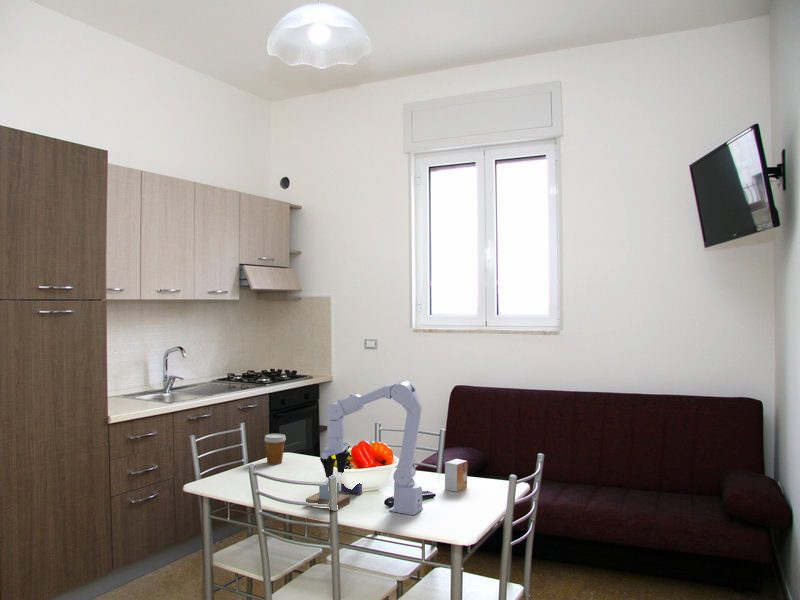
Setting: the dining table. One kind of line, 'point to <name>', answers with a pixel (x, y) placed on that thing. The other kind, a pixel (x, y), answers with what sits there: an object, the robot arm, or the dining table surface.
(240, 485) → the dining table surface
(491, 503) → the dining table surface
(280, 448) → the disposable coffee cup
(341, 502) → the walnut base
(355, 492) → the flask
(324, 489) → the slate cube
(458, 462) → the small box
